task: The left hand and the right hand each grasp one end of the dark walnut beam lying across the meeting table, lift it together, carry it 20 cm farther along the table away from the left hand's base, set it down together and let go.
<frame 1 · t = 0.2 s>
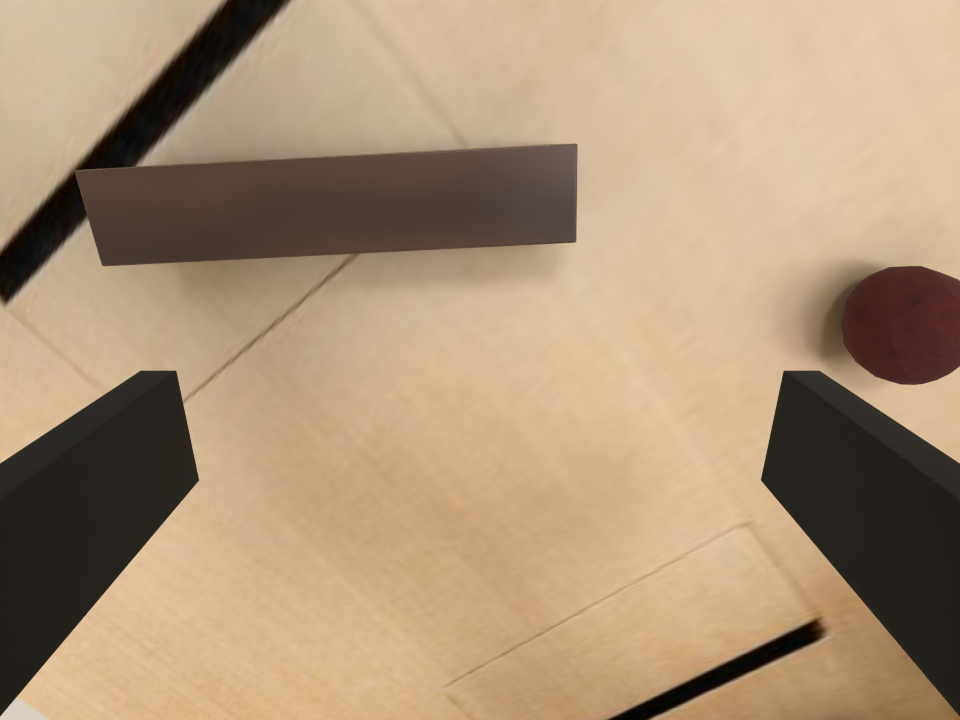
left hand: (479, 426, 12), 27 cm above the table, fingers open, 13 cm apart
beam: (360, 195, 37), on the table
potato: (870, 308, 40), on the table
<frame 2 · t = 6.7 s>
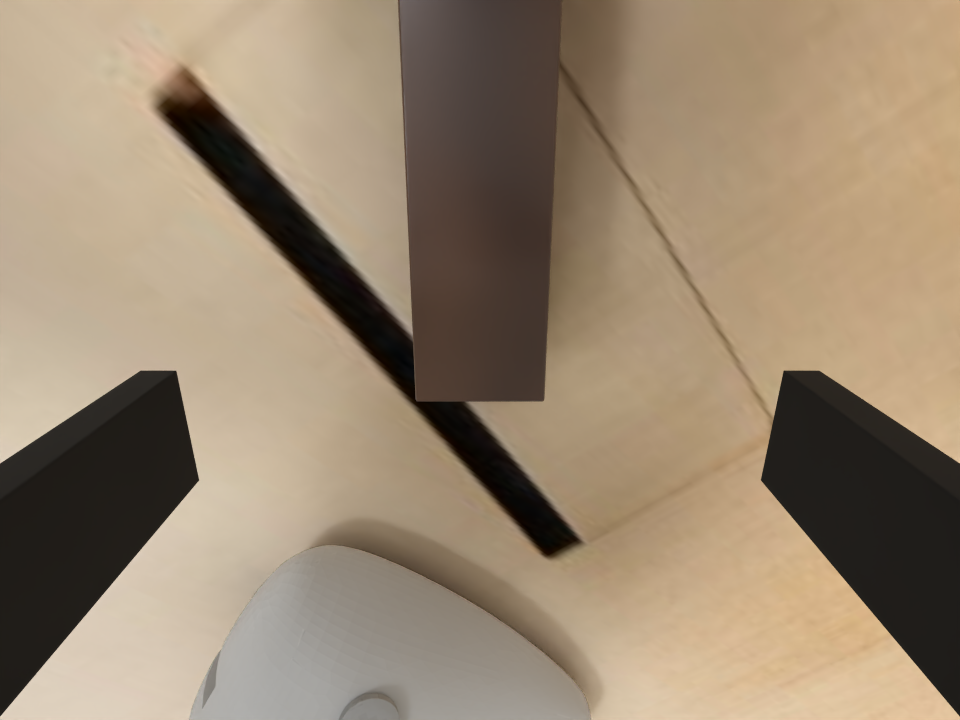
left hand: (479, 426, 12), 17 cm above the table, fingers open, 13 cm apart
beam: (480, 56, 25), on the table, touching right hand
projector: (419, 652, 37), on the table
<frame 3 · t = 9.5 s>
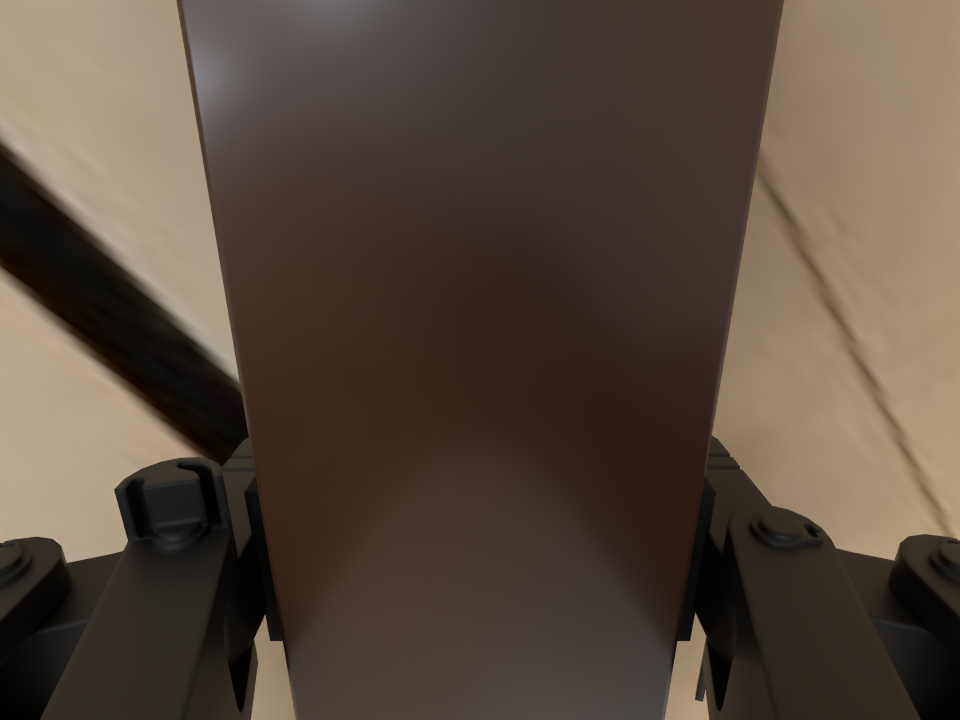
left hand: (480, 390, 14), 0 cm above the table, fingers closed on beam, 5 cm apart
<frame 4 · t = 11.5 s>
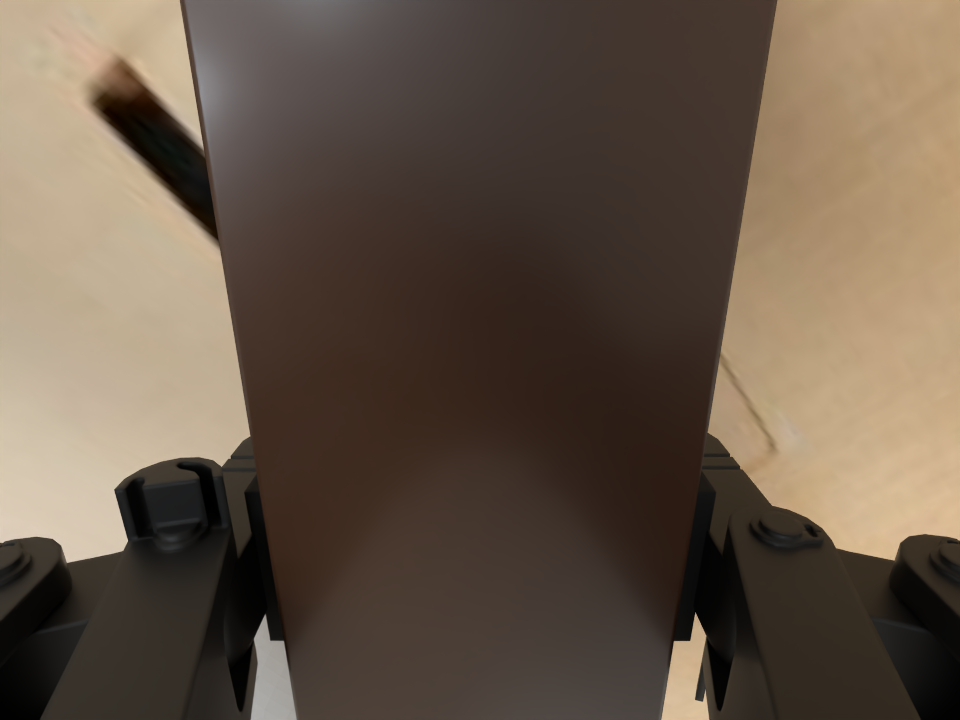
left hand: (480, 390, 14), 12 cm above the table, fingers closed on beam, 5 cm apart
projector: (395, 684, 35), on the table
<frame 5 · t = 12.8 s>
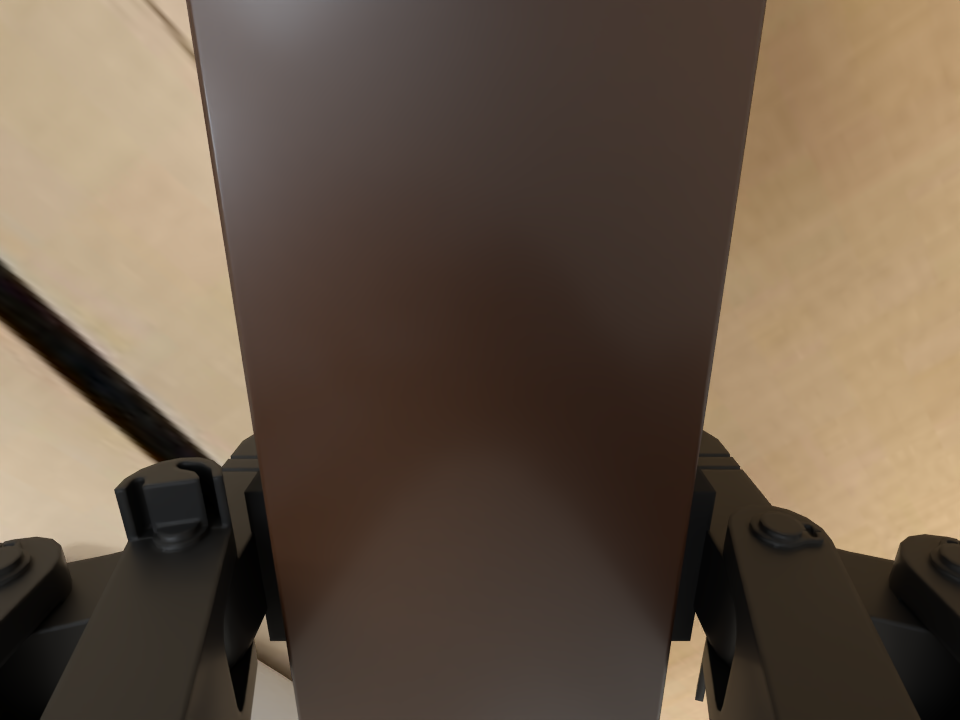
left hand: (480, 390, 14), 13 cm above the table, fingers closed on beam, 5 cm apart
projector: (176, 682, 35), on the table
when the left hand's fingers open (1 cm above the table, at t = 16.5 s): beam stays where it is, on the table.
when the right hand's fingers open (1 cm above the table, at t = 16.5 s): beam stays where it is, on the table.
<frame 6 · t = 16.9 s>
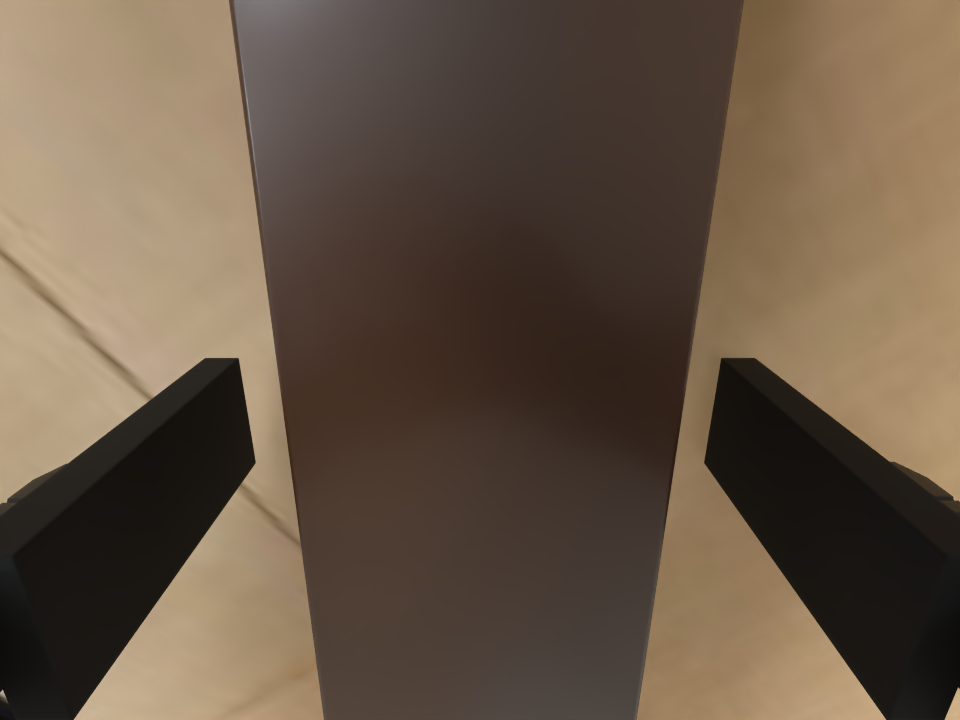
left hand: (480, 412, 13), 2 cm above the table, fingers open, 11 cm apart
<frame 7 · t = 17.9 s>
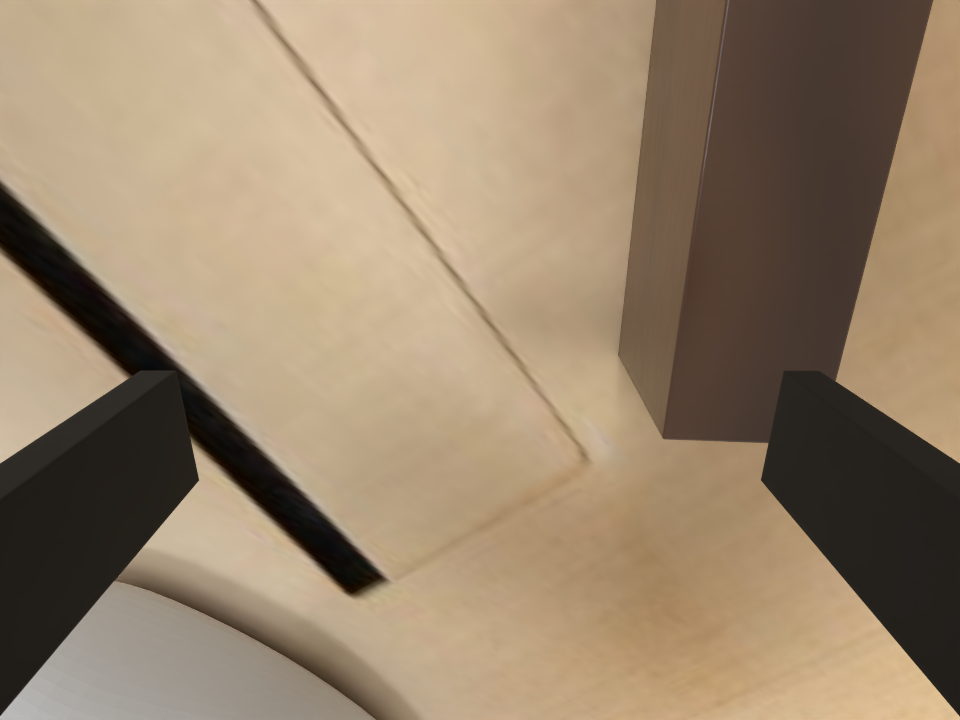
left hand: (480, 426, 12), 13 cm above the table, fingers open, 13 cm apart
beam: (720, 32, 21), on the table
projector: (225, 694, 34), on the table
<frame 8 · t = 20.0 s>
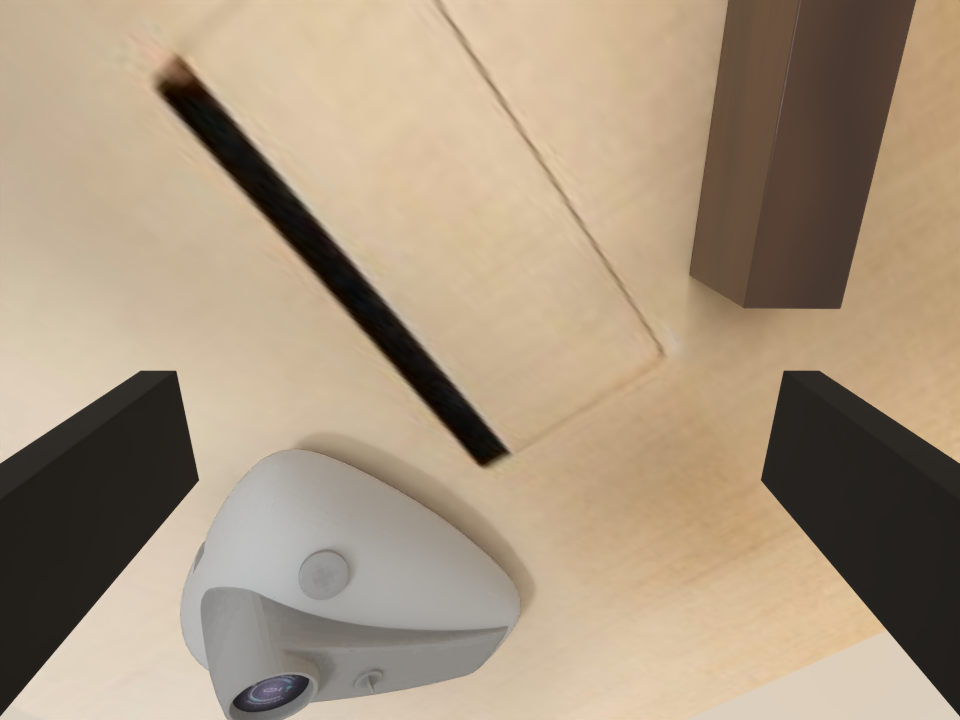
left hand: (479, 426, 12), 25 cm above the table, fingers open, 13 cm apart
beam: (765, 47, 32), on the table
projector: (378, 552, 44), on the table
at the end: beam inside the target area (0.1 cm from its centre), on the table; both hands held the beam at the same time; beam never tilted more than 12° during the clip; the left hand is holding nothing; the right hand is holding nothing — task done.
